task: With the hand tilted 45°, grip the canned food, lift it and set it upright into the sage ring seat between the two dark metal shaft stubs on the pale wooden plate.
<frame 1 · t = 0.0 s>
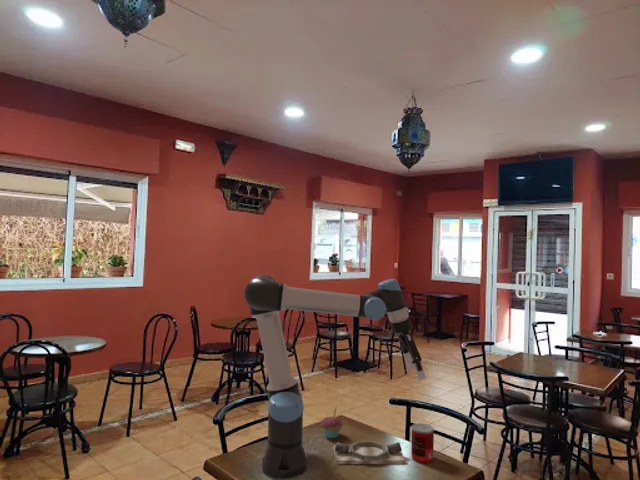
hand: (417, 373, 167), 28 cm above the table, tool tilted 20°, fingers open, 13 cm apart
canned food: (422, 459, 158), on the table
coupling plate: (368, 455, 159), on the table
cupcake: (331, 436, 176), on the table
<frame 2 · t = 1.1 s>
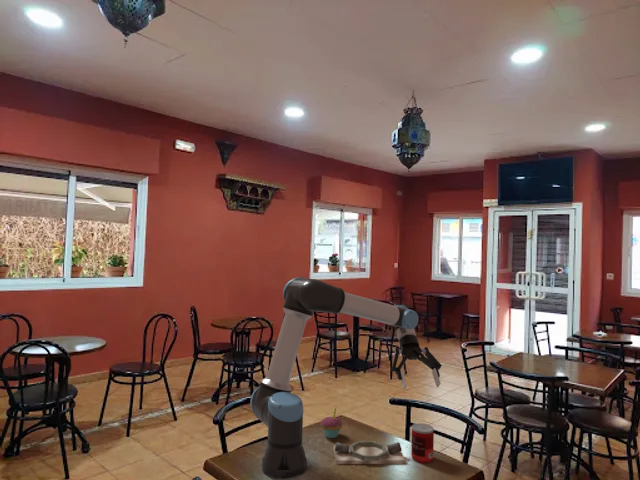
hand: (421, 386, 169), 22 cm above the table, tool tilted 45°, fingers open, 13 cm apart
nothing on the table moved.
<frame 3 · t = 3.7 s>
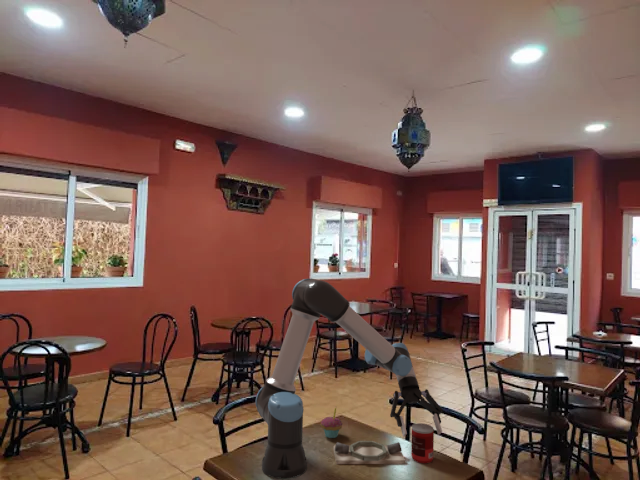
hand: (422, 434, 161), 8 cm above the table, tool tilted 45°, fingers open, 13 cm apart
nothing on the table moved.
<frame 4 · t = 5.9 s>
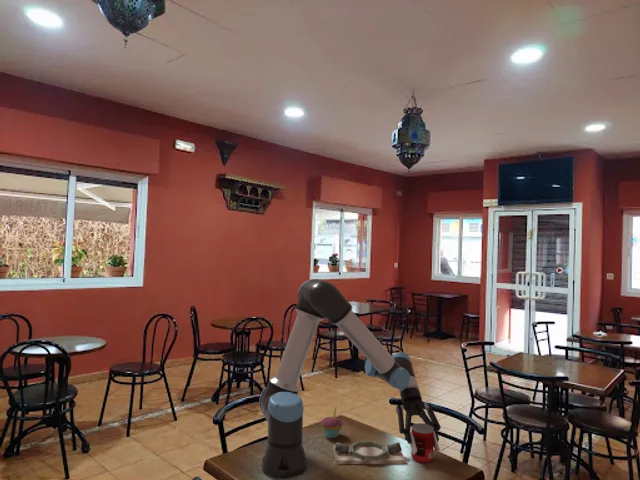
hand: (426, 451, 155), 4 cm above the table, tool tilted 45°, fingers closed on canned food, 8 cm apart
canned food: (422, 459, 158), on the table, touching gripper
everything else where it was.
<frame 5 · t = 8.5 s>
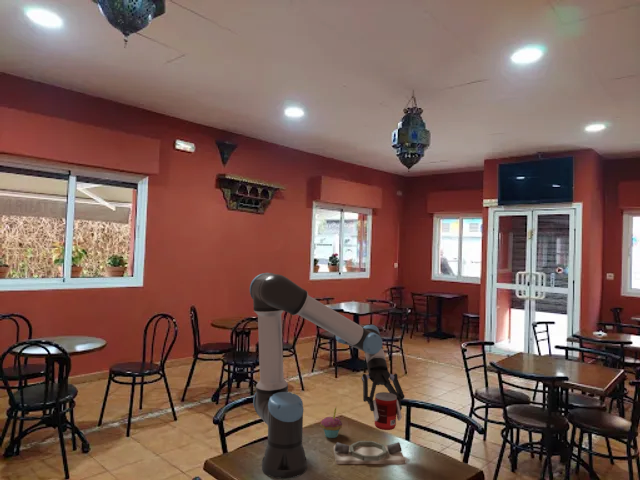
hand: (388, 419, 156), 14 cm above the table, tool tilted 45°, fingers closed on canned food, 8 cm apart
canned food: (385, 426, 160), point 10 cm above the table, touching gripper
everything else where it was.
when the fingers open (6 cm above the table, at t = 11.3 s): canned food drops 1 cm, resting on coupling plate.
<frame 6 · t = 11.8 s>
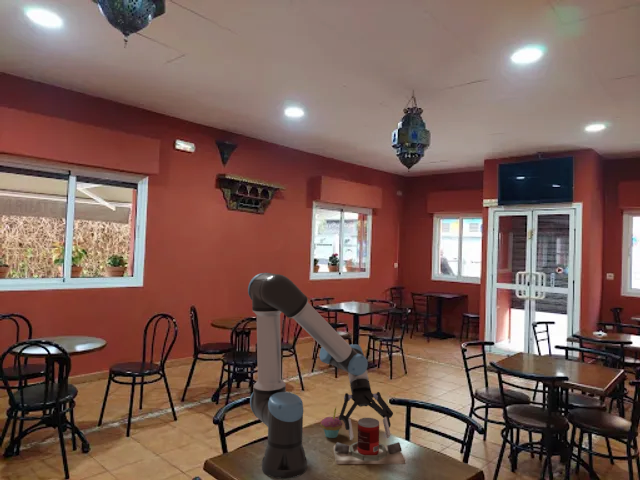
hand: (370, 437, 157), 7 cm above the table, tool tilted 45°, fingers open, 13 cm apart
canned food: (368, 453, 159), point 1 cm above the table, touching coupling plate
everything else where it was.
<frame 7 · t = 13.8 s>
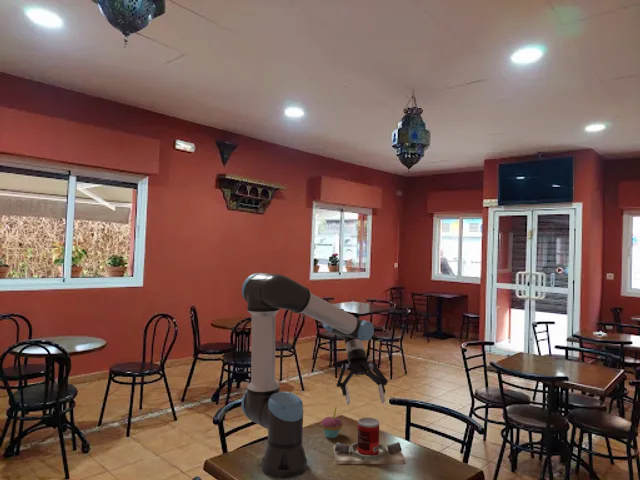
hand: (366, 402, 167), 17 cm above the table, tool tilted 45°, fingers open, 13 cm apart
nothing on the table moved.
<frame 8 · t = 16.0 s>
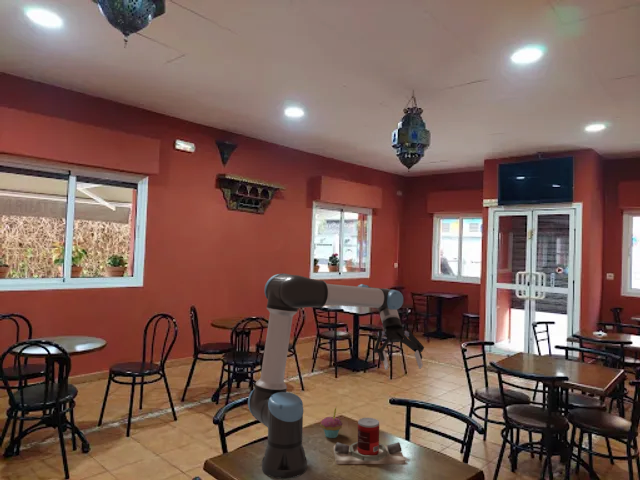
hand: (404, 367, 168), 30 cm above the table, tool tilted 45°, fingers open, 13 cm apart
nothing on the table moved.
at the end: canned food 0.1 cm off-centre on the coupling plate, point 1.0 cm above the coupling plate's base; canned food tilted 0°; the gripper is holding nothing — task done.
